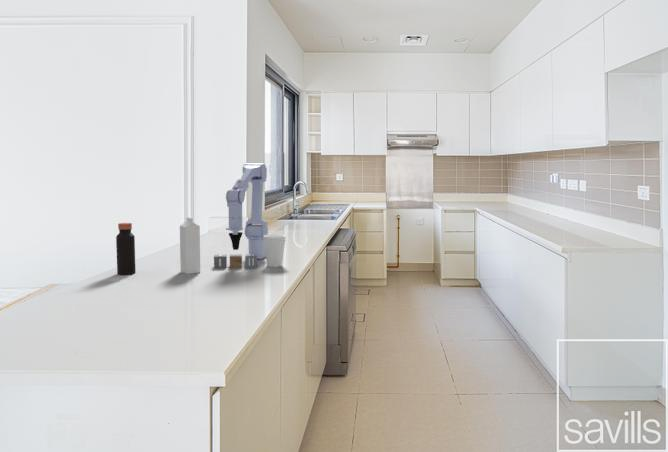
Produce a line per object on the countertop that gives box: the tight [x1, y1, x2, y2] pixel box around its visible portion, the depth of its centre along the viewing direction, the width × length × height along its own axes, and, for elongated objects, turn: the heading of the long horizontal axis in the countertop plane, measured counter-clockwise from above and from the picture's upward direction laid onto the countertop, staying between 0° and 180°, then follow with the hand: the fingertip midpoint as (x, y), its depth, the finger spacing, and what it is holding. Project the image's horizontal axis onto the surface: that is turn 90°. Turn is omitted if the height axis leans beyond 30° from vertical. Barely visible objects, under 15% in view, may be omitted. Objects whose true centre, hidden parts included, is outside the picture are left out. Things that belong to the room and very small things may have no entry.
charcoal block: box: [213, 254, 228, 269], centre depth 240 cm, size 5×5×5 cm
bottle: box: [115, 222, 136, 276], centre depth 222 cm, size 7×7×20 cm
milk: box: [179, 217, 201, 275], centre depth 226 cm, size 6×6×22 cm
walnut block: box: [229, 253, 243, 269], centre depth 241 cm, size 5×5×5 cm
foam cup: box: [264, 234, 286, 268], centre depth 243 cm, size 10×9×13 cm
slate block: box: [244, 253, 258, 269], centre depth 242 cm, size 5×5×5 cm
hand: (235, 249), depth 240 cm, fingers closed
